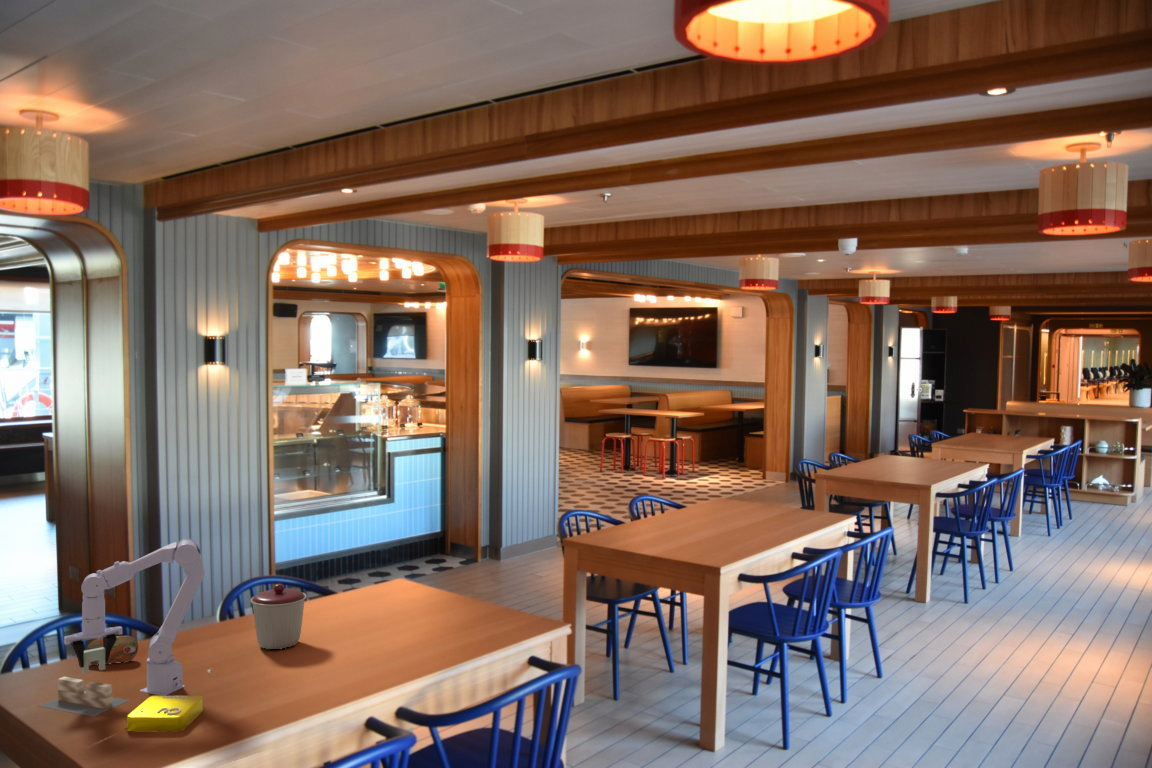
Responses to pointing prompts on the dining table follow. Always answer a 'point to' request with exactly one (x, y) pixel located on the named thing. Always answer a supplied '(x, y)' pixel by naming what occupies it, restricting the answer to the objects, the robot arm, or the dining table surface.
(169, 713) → the element tile
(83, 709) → the slate mat
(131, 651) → the tin
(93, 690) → the birch notched plate
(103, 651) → the sage slotted block
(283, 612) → the canister
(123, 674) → the dining table surface
